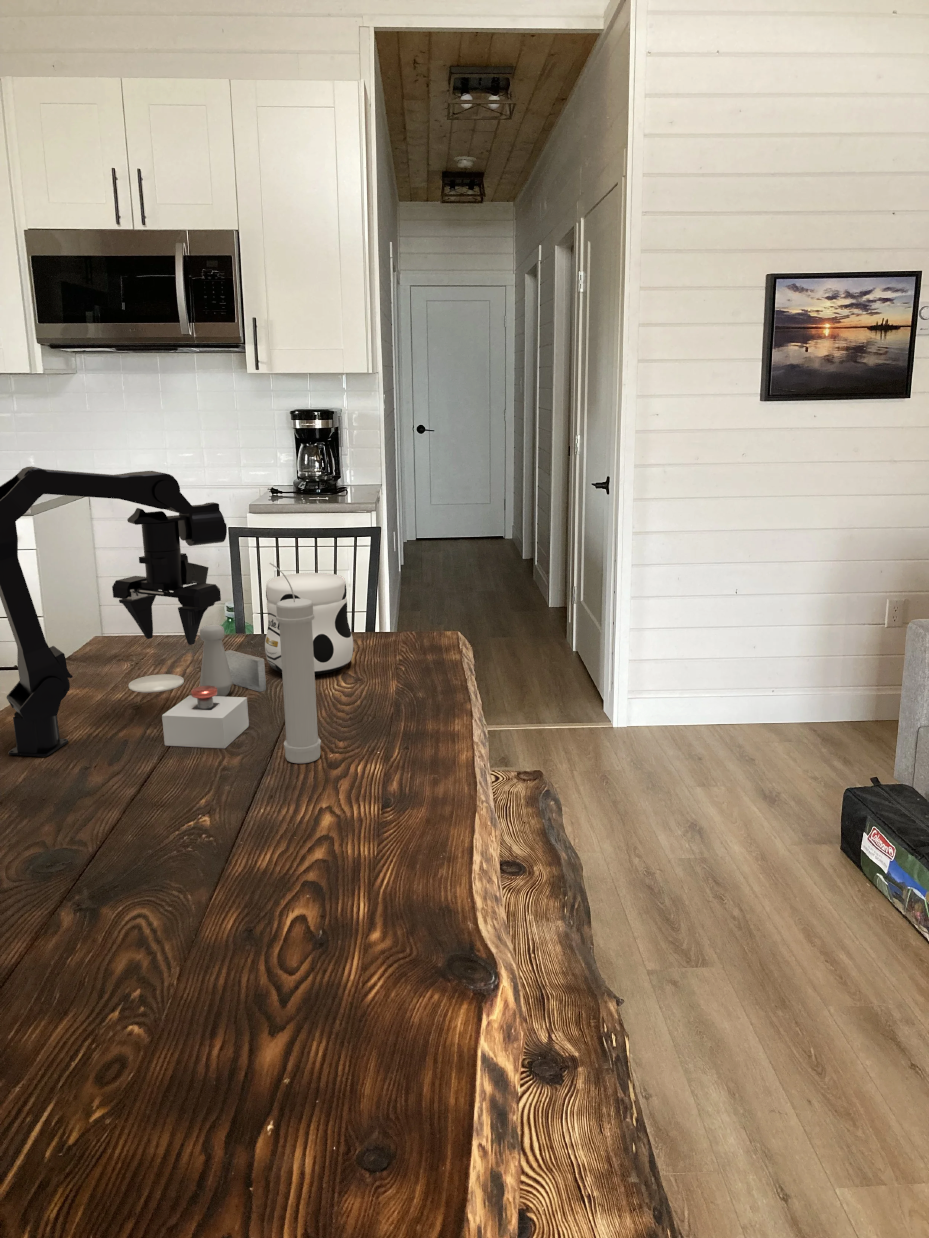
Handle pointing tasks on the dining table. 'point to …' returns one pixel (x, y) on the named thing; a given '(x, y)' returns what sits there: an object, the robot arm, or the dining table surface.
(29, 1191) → the dining table surface
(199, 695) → the plunger
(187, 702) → the button block
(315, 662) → the milk container
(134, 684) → the coaster
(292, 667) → the grey cylinder
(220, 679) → the salt shaker
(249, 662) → the flat rectangular plate
